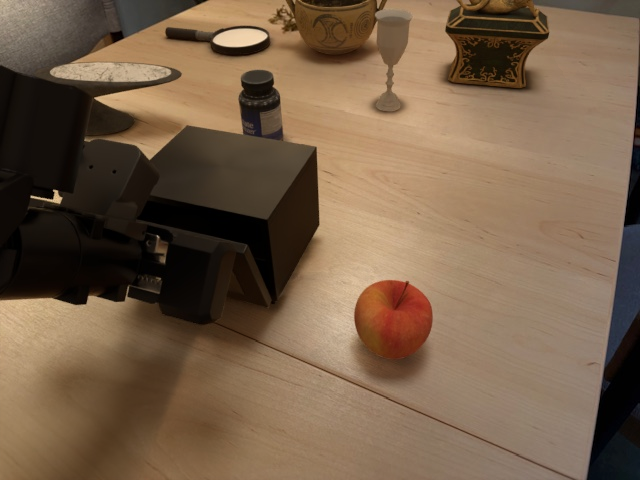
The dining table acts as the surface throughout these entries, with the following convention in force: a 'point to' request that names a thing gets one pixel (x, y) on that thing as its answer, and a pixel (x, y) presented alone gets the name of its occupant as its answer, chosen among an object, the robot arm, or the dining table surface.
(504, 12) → the decorative box
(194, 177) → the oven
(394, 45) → the chalice
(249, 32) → the magnifying glass
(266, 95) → the pill bottle
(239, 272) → the oven door
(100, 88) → the coffee table
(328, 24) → the ceramic bowl
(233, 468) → the dining table surface
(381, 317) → the apple
